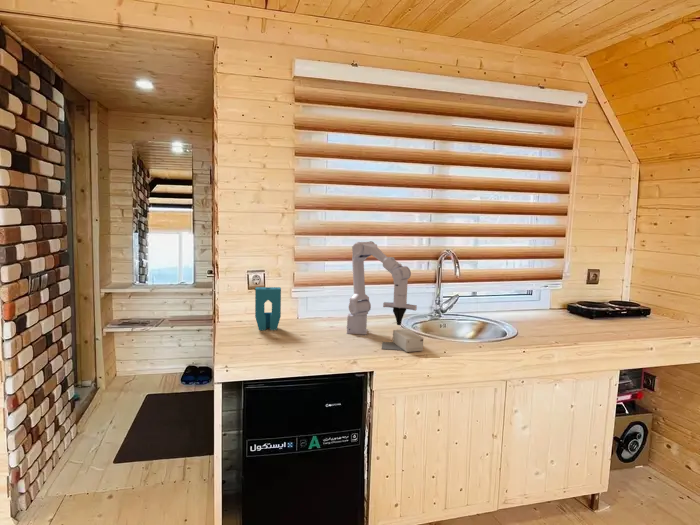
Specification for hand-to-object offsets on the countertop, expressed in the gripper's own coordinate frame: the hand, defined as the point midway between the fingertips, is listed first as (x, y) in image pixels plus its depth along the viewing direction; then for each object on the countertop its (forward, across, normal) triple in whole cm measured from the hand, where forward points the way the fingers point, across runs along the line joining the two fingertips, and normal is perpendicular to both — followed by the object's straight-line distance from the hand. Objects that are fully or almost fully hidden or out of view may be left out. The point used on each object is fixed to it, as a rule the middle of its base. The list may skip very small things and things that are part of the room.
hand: (398, 324), depth 202 cm
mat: (+9, 0, +2) cm, 10 cm away
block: (+10, +64, 0) cm, 65 cm away
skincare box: (+6, 0, -6) cm, 8 cm away
